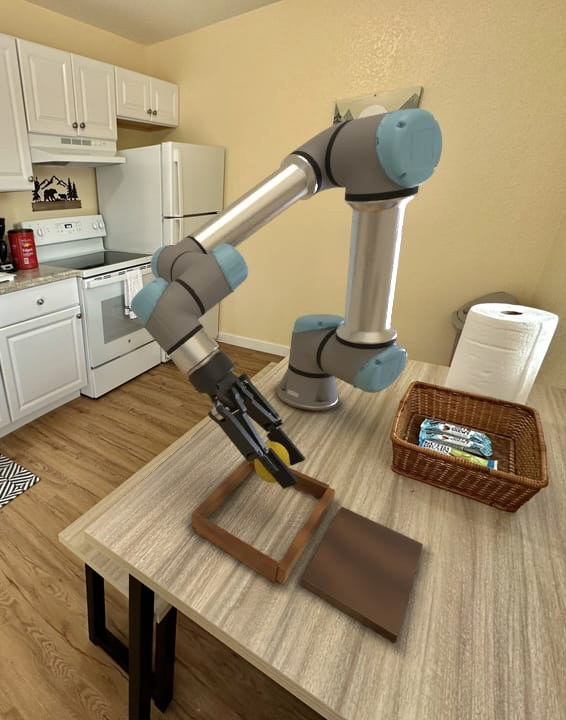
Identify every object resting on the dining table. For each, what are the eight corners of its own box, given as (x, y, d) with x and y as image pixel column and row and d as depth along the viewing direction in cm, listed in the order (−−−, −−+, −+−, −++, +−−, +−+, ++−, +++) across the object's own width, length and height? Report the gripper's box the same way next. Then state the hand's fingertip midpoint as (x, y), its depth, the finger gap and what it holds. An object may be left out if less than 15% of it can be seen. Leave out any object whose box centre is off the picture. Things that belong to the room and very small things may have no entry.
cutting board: (340, 512, 68) (341, 506, 67) (420, 550, 60) (423, 543, 60) (300, 584, 56) (301, 577, 55) (394, 643, 48) (397, 636, 48)
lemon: (288, 495, 62) (295, 455, 59) (253, 490, 63) (257, 451, 60) (284, 472, 67) (290, 434, 64) (251, 468, 68) (255, 431, 65)
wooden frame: (251, 463, 81) (253, 451, 79) (333, 500, 70) (336, 488, 69) (189, 528, 65) (189, 515, 64) (281, 588, 55) (284, 573, 54)
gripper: (207, 354, 72) (287, 450, 72) (163, 397, 58) (262, 518, 57) (237, 332, 68) (322, 434, 67) (196, 373, 53) (304, 504, 52)
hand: (294, 472), depth 62 cm, fingers closed on lemon, 5 cm apart
